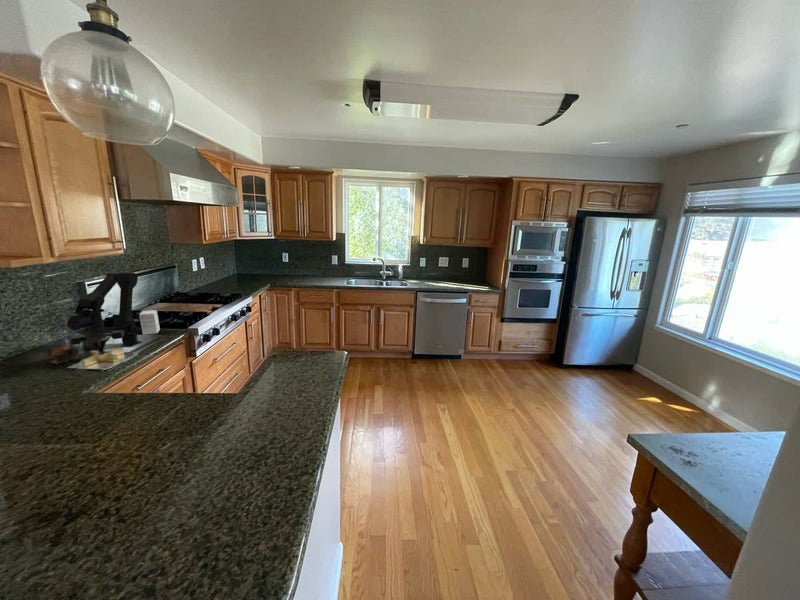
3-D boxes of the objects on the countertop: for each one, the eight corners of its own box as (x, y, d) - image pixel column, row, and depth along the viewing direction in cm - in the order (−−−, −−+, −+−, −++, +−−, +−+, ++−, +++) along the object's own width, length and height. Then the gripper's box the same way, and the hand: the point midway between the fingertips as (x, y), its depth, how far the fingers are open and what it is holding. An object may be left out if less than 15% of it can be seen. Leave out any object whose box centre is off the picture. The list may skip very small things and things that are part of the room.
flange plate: (101, 353, 165) (101, 350, 164) (138, 354, 165) (137, 351, 164) (66, 370, 147) (65, 366, 147) (107, 371, 147) (106, 367, 147)
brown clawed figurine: (43, 368, 149) (38, 351, 150) (58, 368, 158) (53, 352, 159) (75, 358, 153) (70, 341, 154) (88, 358, 162) (83, 343, 163)
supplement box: (145, 330, 197) (142, 310, 194) (160, 329, 200) (157, 309, 197) (142, 334, 191) (138, 314, 188) (157, 333, 194) (154, 313, 191)
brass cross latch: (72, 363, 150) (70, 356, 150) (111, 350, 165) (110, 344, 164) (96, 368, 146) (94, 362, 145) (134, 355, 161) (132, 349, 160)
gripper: (62, 331, 144) (70, 363, 148) (116, 325, 153) (123, 355, 157) (70, 324, 153) (78, 354, 157) (121, 318, 162) (127, 347, 166)
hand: (102, 353), depth 159 cm, fingers closed
